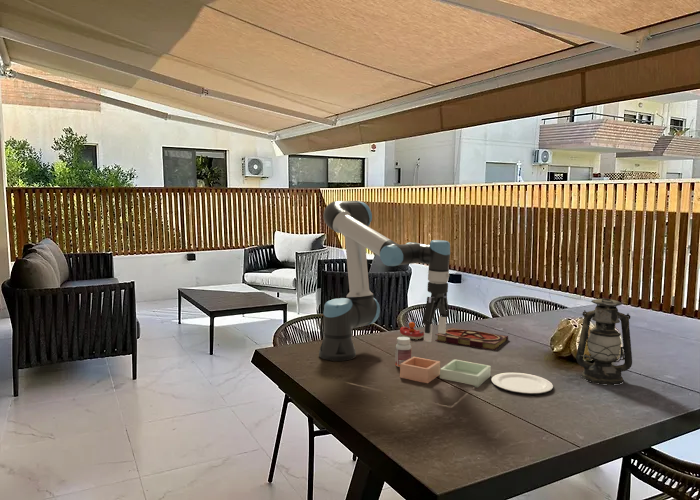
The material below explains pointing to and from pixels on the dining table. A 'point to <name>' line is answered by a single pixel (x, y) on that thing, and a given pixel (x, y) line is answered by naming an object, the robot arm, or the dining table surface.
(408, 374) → the orange open box
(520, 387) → the plate
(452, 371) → the green tray
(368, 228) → the robot arm
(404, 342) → the pill bottle
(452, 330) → the book
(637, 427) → the dining table surface
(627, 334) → the lantern
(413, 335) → the toy boat
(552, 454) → the dining table surface
